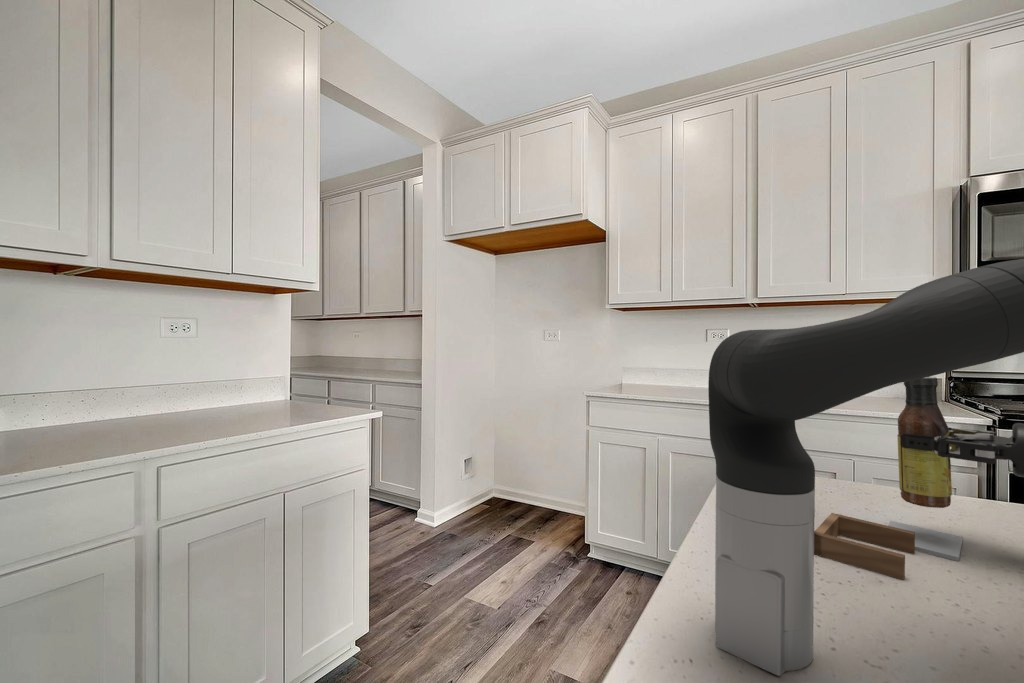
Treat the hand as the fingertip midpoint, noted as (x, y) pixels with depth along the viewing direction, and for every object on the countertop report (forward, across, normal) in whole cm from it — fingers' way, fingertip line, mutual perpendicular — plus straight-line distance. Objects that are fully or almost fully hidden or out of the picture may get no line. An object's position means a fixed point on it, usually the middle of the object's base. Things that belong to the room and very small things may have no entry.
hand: (904, 436), depth 76 cm
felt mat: (-2, 0, +16) cm, 16 cm away
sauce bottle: (-2, 0, +10) cm, 10 cm away
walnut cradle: (+3, +12, +16) cm, 20 cm away
